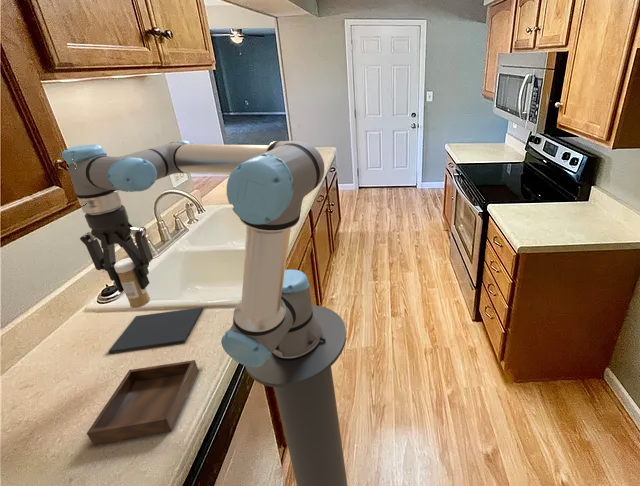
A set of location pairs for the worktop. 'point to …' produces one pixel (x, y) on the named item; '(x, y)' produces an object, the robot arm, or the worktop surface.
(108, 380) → the worktop surface
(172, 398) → the tray
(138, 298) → the sprinkles bottle
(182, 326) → the mat
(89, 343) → the worktop surface
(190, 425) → the worktop surface
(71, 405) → the worktop surface
